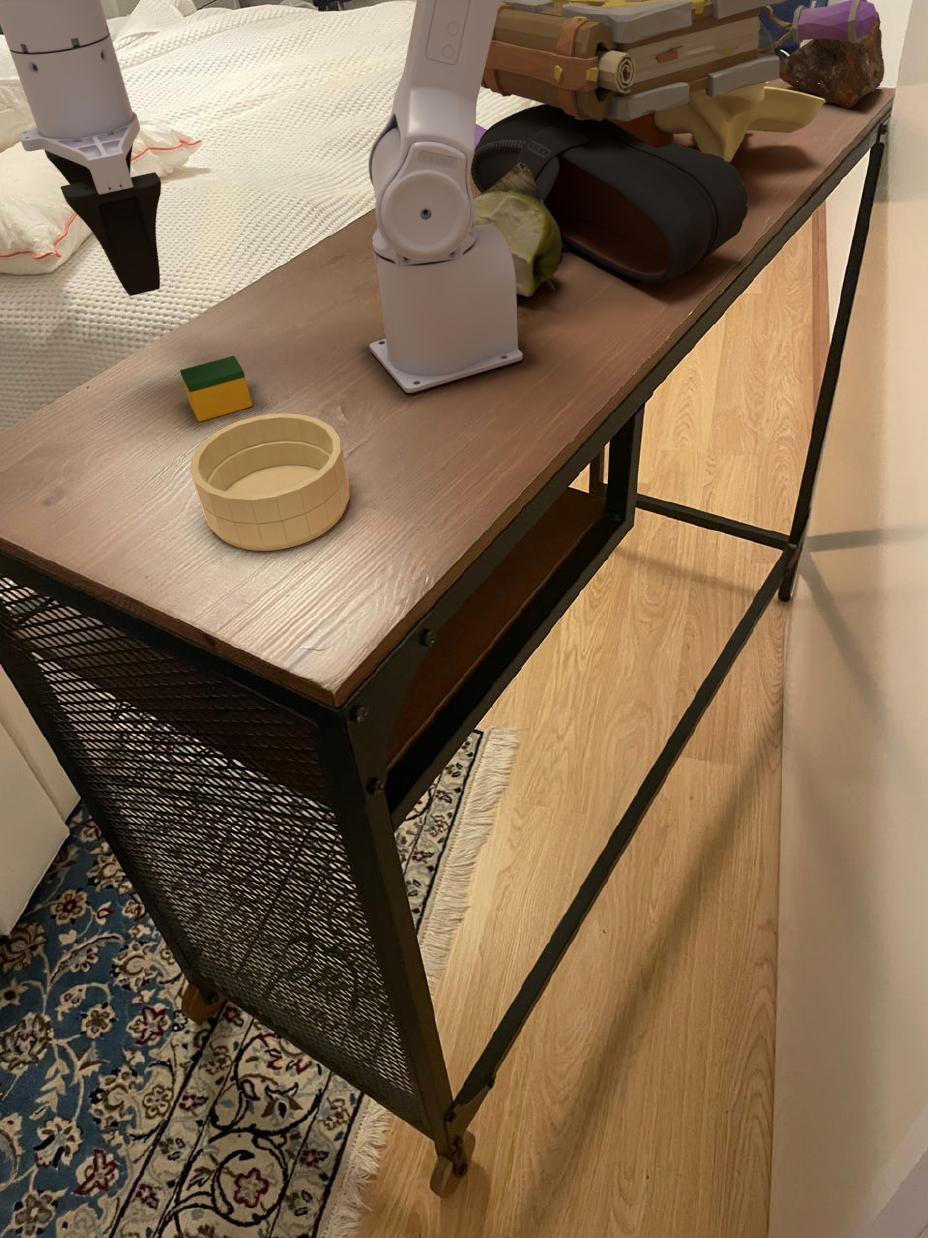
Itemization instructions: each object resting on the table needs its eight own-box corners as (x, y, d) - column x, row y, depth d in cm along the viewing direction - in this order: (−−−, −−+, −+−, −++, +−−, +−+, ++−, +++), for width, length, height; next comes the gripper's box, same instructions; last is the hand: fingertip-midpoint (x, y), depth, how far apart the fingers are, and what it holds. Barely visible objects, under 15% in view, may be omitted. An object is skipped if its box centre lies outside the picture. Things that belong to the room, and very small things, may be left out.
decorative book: (632, 155, 71) (633, -11, 64) (458, 95, 89) (443, -39, 82) (877, 75, 79) (902, -82, 71) (671, 34, 96) (674, -94, 89)
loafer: (497, 81, 87) (403, 126, 82) (762, 151, 73) (669, 212, 68) (502, 186, 95) (416, 235, 89) (744, 269, 81) (659, 332, 75)
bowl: (324, 451, 64) (313, 398, 61) (371, 523, 57) (361, 469, 55) (193, 491, 61) (175, 438, 58) (227, 571, 55) (210, 517, 52)
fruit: (599, 215, 76) (570, 286, 73) (532, 272, 84) (504, 338, 81) (511, 137, 73) (477, 208, 69) (450, 205, 80) (417, 271, 77)
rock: (774, 109, 115) (842, 52, 114) (842, 163, 110) (915, 103, 108) (762, 17, 103) (839, -49, 102) (839, 72, 98) (921, 3, 96)
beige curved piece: (724, 61, 80) (711, 141, 82) (866, 103, 90) (852, 174, 92) (571, 95, 99) (563, 160, 100) (703, 127, 108) (694, 186, 110)
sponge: (243, 390, 70) (234, 355, 68) (252, 406, 68) (243, 370, 66) (190, 405, 69) (179, 369, 67) (198, 422, 67) (187, 385, 65)
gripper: (-21, 29, 59) (59, 246, 68) (-1, 82, 49) (89, 327, 58) (94, 9, 60) (156, 223, 70) (135, 57, 51) (201, 298, 60)
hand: (133, 269), depth 64 cm, fingers open, 7 cm apart
